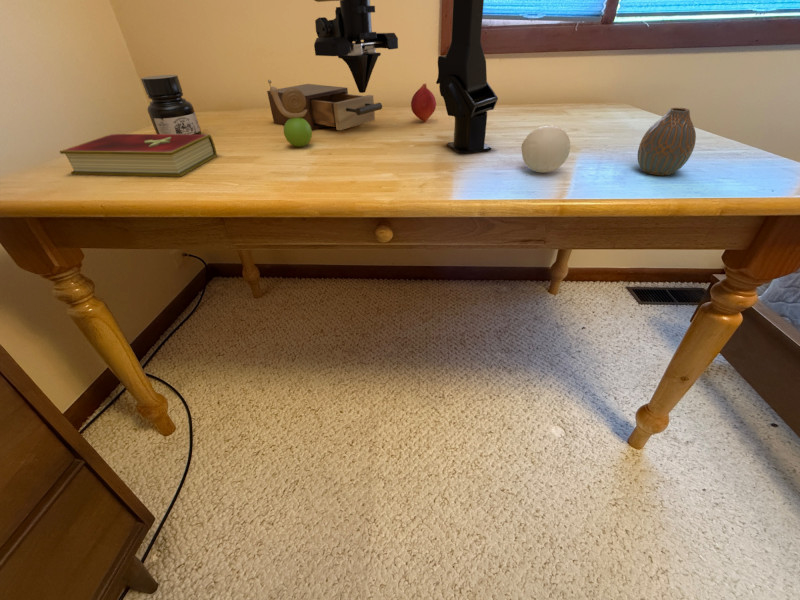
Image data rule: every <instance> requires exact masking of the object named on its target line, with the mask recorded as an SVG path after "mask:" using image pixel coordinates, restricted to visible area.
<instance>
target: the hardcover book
mask: <svg viewBox="0 0 800 600" xmlns="http://www.w3.org/2000/svg"><path fill="white" fill-rule="evenodd" d="M59 153H60V154H61V155H65V157H66V158H67V160H68V162H69V163H70V166H71V168H72V169H73V171H71V172H70V173H71V175H79V176H81V175H82V176H83V175H84V176H130V177H131V176H132V177H175V178H176V177H177V178H178V177H179V178H180V177H183V176H184V175H186V174H188V173H190V172H191V171H194V170H195V169H196V168H199V167H200V166H202V165H203V164H206V163H207V162H209V161H211V160H213V159H214V158H216V157H217V156H218V154H217V149H216V145H215V142H214V139H213V137H212V135H211V134H201V135H195V134H156V133H152V134H151V133H109V134H106V135H104V136H100V137H97V138H95V139H92V140H89V141H86V142H82V143H80V144H77V145H74V146H71V147H68V148H65V149H63V150H60V151H59Z"/></svg>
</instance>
